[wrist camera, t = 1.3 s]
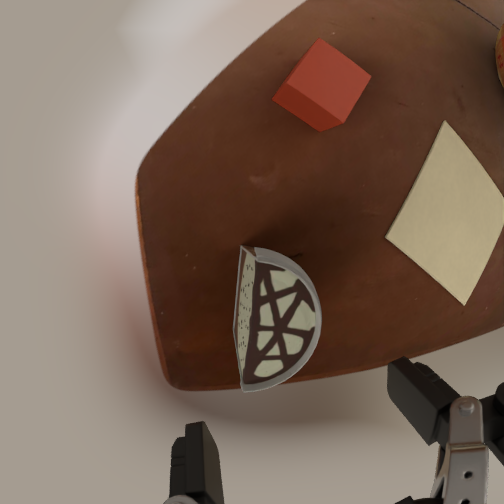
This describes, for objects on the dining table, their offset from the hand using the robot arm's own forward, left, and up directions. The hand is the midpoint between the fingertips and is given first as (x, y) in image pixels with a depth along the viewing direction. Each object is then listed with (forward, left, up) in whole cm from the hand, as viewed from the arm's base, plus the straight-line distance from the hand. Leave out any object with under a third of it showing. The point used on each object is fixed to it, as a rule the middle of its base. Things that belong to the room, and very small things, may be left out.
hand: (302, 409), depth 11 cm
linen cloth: (+22, +20, -21) cm, 37 cm away
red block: (-4, +19, -21) cm, 29 cm away
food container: (+3, -1, -21) cm, 22 cm away
